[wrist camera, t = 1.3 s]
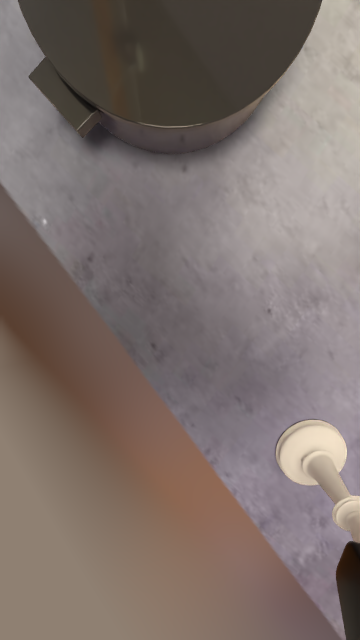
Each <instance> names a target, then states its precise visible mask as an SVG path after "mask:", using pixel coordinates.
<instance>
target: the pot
mask: <svg viewBox="0 0 360 640" xmlns="http://www.w3.org/2000/svg"><path fill="white" fill-rule="evenodd" d="M18 3H19V5H20V8H21V11H22V14H23V16H24V18H25V20H26V22H27V24H28V27H29V29H30V31H31V33H32V35H33V37H34V38H35V40H36V42H37V43H38V45H39V47H40V48H41V50H42V52H43V53H44V55H45V56H46V57H45V58H44V59H43V61H42V62H41V63H40V64H39V65H38V66H37V67H36V69H35V70H34V71H33V72H32V73H31V74H30V75H29V78H30V80H31V81H32V82H33V83H34V84H35V85H36V87H37V88H38V89H39V90H40V91H41V92H42V93H43V95H44V96H45V97H46V98H47V99H48V100H49V101H50V102H51V104H52V105H53V106H54V107H55V108H56V109H57V110H58V111H59V112H60V114H61V115H62V116H63V117H64V118H65V119H66V120H67V121H68V123H69V124H70V125H71V126H72V127H73V128H74V129H75V130H76V132H77V133H78V134H79V135H80V136H81V137H82V138H84V137H85V135H86V134H87V133H88V132H89V131H90V130H91V129H92V128H93V127H94V126H95V125H96V124H97V123H98V122H99V123H100V124H101V125H102V126H103V127H105V128H106V129H107V130H108V131H110V132H111V133H112V134H113V135H115V136H116V137H118V138H120V139H121V140H123V141H125V142H126V143H128V144H131V145H133V146H135V147H138V148H140V149H144V150H148V151H151V152H156V153H164V154H181V153H188V152H194V151H197V150H200V149H204V148H207V147H209V146H211V145H213V144H215V143H217V142H220V141H221V140H223V139H224V138H226V137H227V136H229V135H230V134H232V133H233V132H234V131H235V130H237V129H238V128H239V127H240V126H241V125H242V124H243V123H244V122H245V121H246V120H247V119H248V118H249V117H250V116H251V114H252V113H253V112H254V110H255V109H256V108H257V106H258V105H259V103H260V102H261V100H262V99H263V97H264V96H265V94H266V93H268V92H269V91H270V90H271V89H272V87H273V86H274V85H275V84H276V83H277V82H278V81H279V80H280V79H281V78H282V76H283V75H284V74H285V72H286V71H287V70H288V68H289V67H290V65H291V64H292V63H293V61H294V60H295V58H296V57H297V55H298V54H299V52H300V50H301V48H302V47H303V45H304V43H305V41H306V39H307V37H308V36H309V34H310V32H311V29H312V27H313V25H314V22H315V20H316V17H317V15H318V12H319V10H320V6H321V3H322V0H18Z"/></svg>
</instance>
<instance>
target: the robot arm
mask: <svg viewBox="0 0 360 640" xmlns="http://www.w3.org/2000/svg"><path fill="white" fill-rule="evenodd" d="M336 581H337V587H338V593H339V599H340V605H341V611H342V617H343V623H344V629H345V635H346V640H360V543H358V542H354V541H349V542H348V543H347V544H346V546H345V549H344V551H343V553H342V556H341V558H340V561H339V563H338V566H337V570H336Z"/></svg>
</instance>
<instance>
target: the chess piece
mask: <svg viewBox="0 0 360 640" xmlns="http://www.w3.org/2000/svg"><path fill="white" fill-rule="evenodd" d="M346 457H347V447H346V444H345V441H344V439H343V438H342V436H341V434H340V433H339V431H338V430H337V429H336V428H335V427H334V426H332V425H331V424H329V423H327V422H324V421H320V420H306V421H302V422H299V423H297V424H295V425H293V426H291V427H290V428H289V429H287V430H286V431H285V432H284V433H283V435H282V436H281V437H280V439H279V441H278V444H277V447H276V459H277V463H278V465H279V467H280V468H281V470H282V471H283V472H284V474H285V475H286V476H287V477H288V478H289V479H291V480H292V481H294V482H296V483H299V484H302V485H318V484H319V485H320V486H321V487H322V488H323V490H324V491H325V492H326V493H327V494H328V496H329V497H330V498H331V499H332V501H333V502H334V503H335V506H334V508H333V511H332V517H333V520H334V522H335V523H336V524H337V525H338V526H339V527H340V528H342V529H344V530H347V531H351V535H352V538H353V541H354V542H358V543H360V496H351V495H350V493H349V492H348V490H347V488H346V486H345V484H344V483H343V481H342V479H341V477H340V475H339V472H340V471H341V469H342V468H343V466H344V464H345V461H346Z"/></svg>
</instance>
